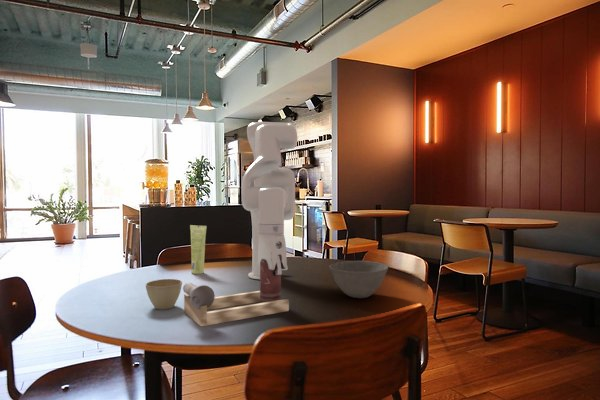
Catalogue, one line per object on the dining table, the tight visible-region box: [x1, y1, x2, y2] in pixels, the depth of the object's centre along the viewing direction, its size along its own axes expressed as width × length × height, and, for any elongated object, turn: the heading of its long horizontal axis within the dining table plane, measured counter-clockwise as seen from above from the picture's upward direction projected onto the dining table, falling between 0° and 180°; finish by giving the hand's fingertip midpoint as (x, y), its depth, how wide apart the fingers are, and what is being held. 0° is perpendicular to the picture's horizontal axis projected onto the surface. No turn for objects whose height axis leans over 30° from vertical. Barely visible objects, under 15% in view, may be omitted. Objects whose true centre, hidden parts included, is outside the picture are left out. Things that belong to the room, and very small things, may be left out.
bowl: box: [328, 260, 389, 299], centre depth 132 cm, size 19×19×10 cm
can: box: [259, 259, 282, 303], centre depth 121 cm, size 6×6×14 cm
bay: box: [182, 282, 290, 327], centre depth 114 cm, size 28×16×10 cm, turn 122°
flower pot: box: [145, 278, 183, 310], centre depth 119 cm, size 10×10×7 cm
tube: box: [189, 224, 207, 275], centre depth 167 cm, size 6×5×20 cm
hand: (270, 291), depth 121 cm, fingers closed
